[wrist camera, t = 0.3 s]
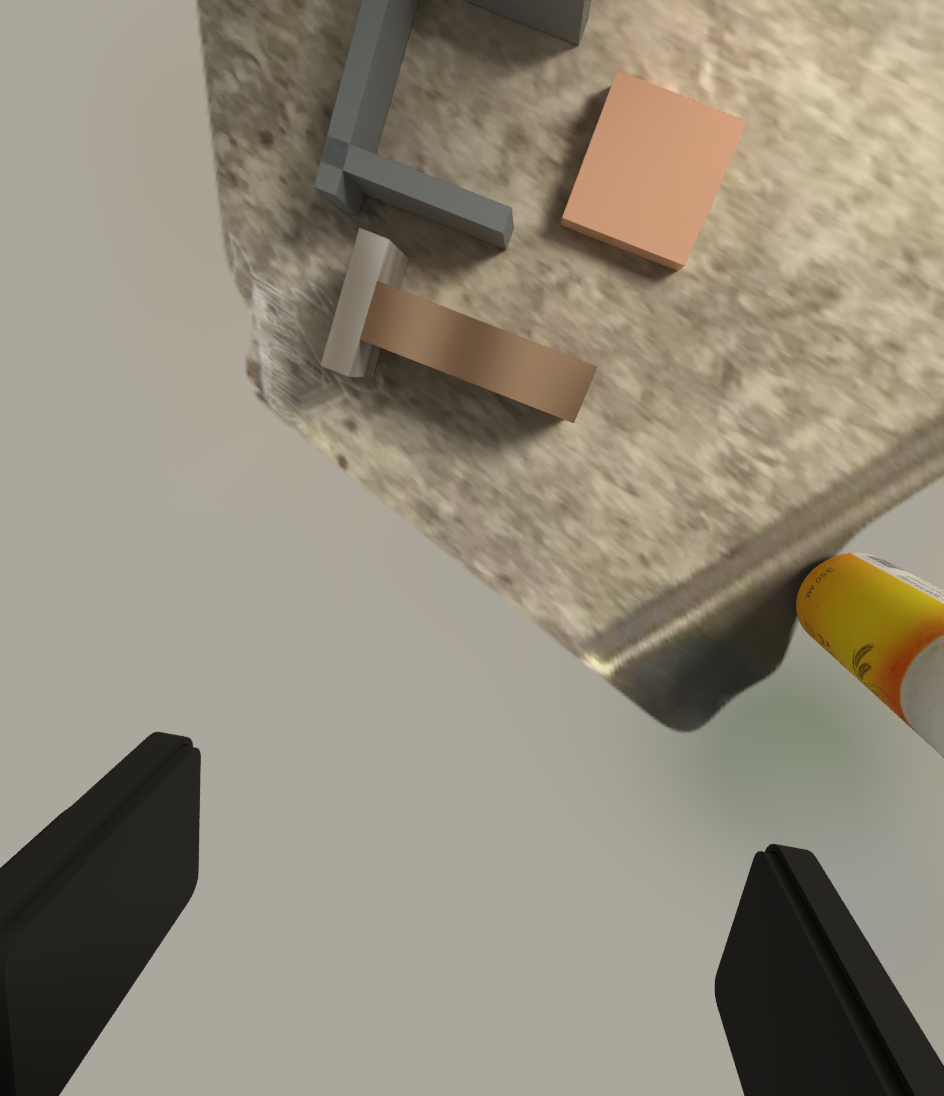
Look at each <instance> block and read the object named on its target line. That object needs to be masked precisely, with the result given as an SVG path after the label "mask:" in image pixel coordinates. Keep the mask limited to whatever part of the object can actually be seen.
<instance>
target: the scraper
mask: <svg viewBox="0 0 944 1096" xmlns="http://www.w3.org/2000/svg"><path fill="white" fill-rule="evenodd" d="M408 262H409V258H408V257H407V256H406V255H405V254H404V253H403V252H402V251H401V250H400V249H399V248H397V247H396V246H395V245H394V244H393V243H392V242H391V241H390V240H389V239H387V238H384V237H382V236H379V235H377V234H374V233H371V232H369V231H366V230H364V229H361V228H359V231H358V234H357V238H356V241H355V245H354V248H353V252H352V255H351V259H350V262H349V266H348V270H347V273H346V277H345V280H344V284H343V287H342V291H341V294H340V298H339V301H338V305H337V309H336V312H335V316H334V319H333V323H332V326H331V330H330V333H329V337H328V340H327V344H326V348H325V351H324V355H323V358H322V362H321V365H320V366H322V367H325V368H328V369H330V370H333V371H335V372H338V373H340V374H343V375H345V376H348V377H373V375H374V371H375V368H376V365H377V362H378V359H379V355H380V352H381V349H382V348H383V349H386V350H388V351H391V352H393V353H396V354H398V355H401V356H403V357H406V358H409V359H411V360H414V361H416V362H419V363H421V364H424V365H426V366H429V367H432V368H434V369H437V370H439V371H442V372H444V373H447V374H449V375H452V376H455V377H457V378H460V379H462V380H465V381H467V382H470V383H472V384H475V385H478V386H480V387H483V388H485V389H488V390H490V391H493V392H495V393H498V394H500V395H503V396H506V397H508V398H511V399H513V400H516V401H518V402H521V403H523V404H526V405H529V406H531V407H534V408H536V409H539V410H541V411H544V412H546V413H549V414H552V415H554V416H557V417H559V418H562V419H564V420H567V421H569V422H572V423H574V422H575V419H576V417H577V414H578V412H579V410H580V407H581V405H582V402H583V400H584V398H585V395H586V393H587V390H588V388H589V386H590V383H591V381H592V379H593V376H594V374H595V371H596V369H597V367H596V366H594V365H591V364H588V363H586V362H583V361H581V360H578V359H576V358H573V357H571V356H568V355H566V354H563V353H560V352H558V351H555V350H553V349H550V348H548V347H545V346H543V345H540V344H537V343H535V342H532V341H530V340H527V339H525V338H522V337H520V336H517V335H515V334H512V333H509V332H507V331H504V330H502V329H499V328H497V327H494V326H492V325H489V324H487V323H484V322H481V321H479V320H476V319H474V318H471V317H469V316H466V315H464V314H461V313H458V312H456V311H453V310H451V309H448V308H446V307H443V306H441V305H438V304H436V303H433V302H430V301H428V300H425V299H423V298H420V297H418V296H415V295H413V294H410V293H407V292H405V291H402V290H400V288H401V284H402V281H403V278H404V275H405V272H406V268H407V265H408Z"/></svg>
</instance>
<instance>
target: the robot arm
mask: <svg viewBox="0 0 944 1096" xmlns="http://www.w3.org/2000/svg"><path fill="white" fill-rule="evenodd" d="M200 766H201V754H200V751H199V749H198V748H194V747H193V743H192V741H191V739H190V738H188V737H184V736H179V735H173V734H168V733H162V732H154V733H152V734H151V735H149V736H148V737H147V738H146V739H145V740H144V741H143V742H141V743H140V744H139V745H138V746H137V747H136V748H135V749H134V750H133V751H132V752H130V753H129V754H128V755H127V756H126V757H125V758H124V759H123V760H122V761H121V762H119V763H118V764H117V765H116V766H115V767H114V768H113V769H112V770H111V771H109V772H108V773H107V774H106V775H105V776H104V777H103V778H102V779H101V780H99V781H98V782H97V783H96V784H95V785H94V786H93V787H92V788H91V789H90V790H89V791H87V793H85V794H84V795H83V796H82V797H81V798H80V799H79V800H77V801H76V802H75V803H74V804H73V805H72V806H71V807H69V808H68V809H67V810H65V811H64V812H62V813H61V814H60V815H59V816H58V817H57V818H55V820H54V821H52V822H51V823H50V824H49V825H48V826H47V827H45V828H44V829H43V830H42V831H41V832H40V833H39V834H38V835H37V836H35V837H34V838H33V839H32V840H31V841H30V842H29V843H28V844H27V845H25V846H24V847H23V848H22V849H21V850H20V851H19V852H18V853H17V854H16V855H14V856H13V857H12V858H11V859H10V860H9V861H8V862H7V863H6V864H4V865H3V866H2V867H1V868H0V1096H59V1095H60V1093H61V1092H62V1090H63V1089H64V1087H65V1086H66V1084H67V1083H68V1081H69V1080H70V1078H71V1077H72V1075H73V1074H74V1072H75V1071H76V1069H77V1068H78V1066H79V1065H80V1063H81V1062H82V1060H83V1059H84V1057H85V1056H86V1054H87V1053H88V1051H89V1050H90V1048H91V1047H92V1045H93V1044H94V1042H95V1041H96V1039H97V1038H98V1036H99V1035H100V1033H101V1032H102V1030H103V1029H104V1027H105V1026H106V1024H107V1023H108V1021H109V1020H110V1018H111V1017H112V1015H113V1014H114V1013H115V1011H116V1010H117V1008H118V1006H119V1005H120V1004H121V1002H122V1001H123V999H124V997H125V996H126V994H127V993H128V992H129V990H130V989H131V987H132V985H133V984H134V982H135V981H136V979H137V978H138V977H139V975H140V974H141V972H142V971H143V969H144V968H145V966H146V965H147V963H148V961H149V960H150V959H151V957H152V956H153V954H154V953H155V951H156V949H157V948H158V947H159V945H160V944H161V942H162V941H163V939H164V938H165V936H166V935H167V933H168V932H169V930H170V929H171V927H172V926H173V924H174V923H175V921H176V920H177V918H178V917H179V915H180V914H181V912H182V911H183V909H184V908H185V906H186V905H187V903H188V902H189V900H190V898H191V897H192V894H193V892H194V890H195V887H196V884H197V880H198V868H199V867H198V866H199V817H200V816H199V815H200V812H199V811H200ZM715 998H716V1003H717V1007H718V1010H719V1013H720V1016H721V1020H722V1023H723V1027H724V1030H725V1033H726V1036H727V1040H728V1043H729V1046H730V1050H731V1053H732V1056H733V1059H734V1062H735V1066H736V1069H737V1073H738V1076H739V1079H740V1082H741V1086H742V1089H743V1092H744V1096H944V1065H943V1064H942V1062H941V1061H940V1059H939V1057H938V1056H937V1054H936V1052H935V1051H934V1050H933V1048H932V1046H931V1044H930V1043H929V1041H928V1039H927V1038H926V1036H925V1035H924V1033H923V1031H922V1030H921V1028H920V1026H919V1025H918V1023H917V1021H916V1020H915V1018H914V1017H913V1015H912V1013H911V1012H910V1010H909V1008H908V1007H907V1005H906V1004H905V1002H904V1000H903V999H902V997H901V995H900V994H899V992H898V990H897V989H896V987H895V986H894V984H893V983H892V981H891V979H890V977H889V976H888V974H887V972H886V971H885V969H884V968H883V966H882V964H881V963H880V961H879V959H878V958H877V956H876V955H875V953H874V951H873V950H872V948H871V946H870V945H869V943H868V941H867V940H866V938H865V937H864V935H863V933H862V932H861V930H860V928H859V927H858V925H857V924H856V922H855V920H854V919H853V917H852V915H851V914H850V912H849V911H848V909H847V907H846V906H845V904H844V902H843V901H842V900H841V897H840V896H839V894H838V893H837V891H836V889H835V888H834V886H833V884H832V883H831V881H830V879H829V878H828V876H827V875H826V873H825V871H824V870H823V868H822V867H821V865H820V863H819V862H818V860H817V858H816V857H815V856H814V854H813V853H812V852H810V851H808V850H805V849H799V848H793V847H788V846H783V845H777V844H770V845H769V846H768V847H767V848H766V851H765V852H762V851H760V852H757V853H756V854H755V857H754V859H753V862H752V866H751V868H750V872H749V875H748V878H747V881H746V884H745V887H744V890H743V893H742V896H741V899H740V902H739V906H738V909H737V912H736V915H735V918H734V921H733V924H732V927H731V931H730V933H729V936H728V939H727V943H726V946H725V949H724V952H723V955H722V958H721V961H720V964H719V967H718V970H717V974H716V978H715Z"/></svg>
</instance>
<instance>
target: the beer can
mask: <svg viewBox="0 0 944 1096" xmlns="http://www.w3.org/2000/svg"><path fill="white" fill-rule="evenodd" d="M796 610H797V615H798V619H799V621H800V623H801V625H802V627H803V628H804V629H805V631H806V632H807V633H808V634H809V635H810V636H811V637H813V639H815V640H816V641H817V642H818V643H819V644H820V645H821V646H822V647H823V648H824V649H826V650H827V651H828V652H829V653H830V654H831V655H832V656H833V657H834V658H835V659H836V660H838V661H839V662H840V663H841V664H842V665H843V666H844V667H845V668H846V669H847V670H849V671H850V672H851V673H852V674H853V675H854V676H855V677H856V678H857V679H858V680H859V681H860V682H862V683H863V684H864V685H865V686H866V687H867V688H868V689H869V690H870V691H872V692H873V693H874V694H875V695H876V696H877V697H878V698H879V699H880V700H881V701H882V702H884V703H885V704H886V705H887V706H888V707H889V708H890V709H891V710H892V711H893V712H894V713H895V714H897V715H898V716H899V717H900V718H901V719H902V720H903V721H904V722H905V723H906V724H908V725H909V726H910V727H911V728H912V729H913V730H914V731H915V732H916V733H917V734H918V735H920V736H921V737H922V738H923V739H924V740H925V741H926V742H927V743H928V744H929V745H930V746H932V747H933V748H934V749H935V750H936V751H937V752H938V753H939V754H940V755H941V756H942V757H943V758H944V591H943V590H942V589H940V588H938V587H936V586H934V585H932V584H930V583H928V582H926V581H924V580H922V579H920V578H917V577H916V576H914V575H912V574H910V573H908V572H906V571H904V570H902V569H900V568H898V567H896V566H894V565H892V564H890V563H888V562H886V561H884V560H882V559H880V558H878V557H876V556H873V555H870V554H864V553H848V554H842V555H838V556H835V557H833V558H830V559H828V560H826V561H824V562H823V563H821V564H820V565H818V566H817V567H816V568H815V569H813V570H812V571H811V572H810V573H809V575H808V576H807V577H806V578H805V580H804V581H803V583H802V585H801V587H800V589H799V592H798V595H797V601H796Z"/></svg>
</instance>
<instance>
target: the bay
mask: <svg viewBox="0 0 944 1096" xmlns="http://www.w3.org/2000/svg"><path fill="white" fill-rule="evenodd" d="M464 1H466V2H469V3H471V4H474V5H476V6H479V7H481V8H484V9H487V10H489V11H492V12H494V13H497V14H499V15H502V16H504V17H507V18H509V19H512V20H514V21H517V22H519V23H522V24H524V25H527V26H530V27H532V28H535V29H537V30H540V31H542V32H545V33H547V34H550V35H552V36H555V37H557V38H560V39H562V40H565V41H568V42H570V43H573V44H575V45H578V46H579V43H580V40H581V37H582V34H583V31H584V29H585V26H586V23H587V20H588V15H589V8H590V1H591V0H464ZM418 2H419V0H362V1H361V5H360V9H359V13H358V17H357V21H356V25H355V29H354V33H353V36H352V40H351V44H350V48H349V52H348V56H347V60H346V64H345V68H344V71H343V75H342V79H341V83H340V87H339V91H338V95H337V99H336V103H335V106H334V110H333V114H332V118H331V122H330V126H329V130H328V134H327V137H326V141H325V145H324V149H323V153H322V157H321V161H320V165H319V169H318V172H317V176H316V180H315V184H314V187H315V188H316V189H317V190H318V191H319V192H320V193H321V194H322V195H324V196H325V197H326V198H327V199H328V200H329V201H330V202H331V203H333V204H334V205H335V206H336V207H337V208H338V209H340V210H343V211H345V212H348V213H350V214H353V215H355V216H359V212H360V208H361V205H362V201H363V198H364V194H365V195H368V196H370V197H373V198H375V199H378V200H380V201H383V202H385V203H388V204H390V205H393V206H396V207H398V208H401V209H403V210H406V211H408V212H411V213H413V214H416V215H418V216H421V217H423V218H426V219H429V220H431V221H434V222H436V223H439V224H441V225H444V226H446V227H449V228H451V229H454V230H457V231H459V232H462V233H464V234H467V235H469V236H472V237H474V238H477V239H479V240H482V241H485V242H487V243H490V244H492V245H495V246H497V247H500V248H502V249H505V250H506V249H507V246H508V243H509V241H510V238H511V235H512V232H513V229H514V224H513V216H512V208H511V207H508V206H506V205H503V204H501V203H498V202H496V201H493V200H491V199H488V198H485V197H483V196H480V195H478V194H475V193H473V192H470V191H468V190H465V189H463V188H460V187H457V186H455V185H452V184H450V183H447V182H445V181H442V180H440V179H437V178H435V177H432V176H430V175H427V174H424V173H422V172H419V171H417V170H414V169H412V168H409V167H407V166H404V165H402V164H399V163H396V162H394V161H391V160H389V159H386V158H384V157H381V156H379V155H376V152H377V148H378V144H379V141H380V137H381V134H382V130H383V127H384V123H385V120H386V116H387V112H388V109H389V105H390V102H391V98H392V95H393V91H394V87H395V84H396V80H397V77H398V73H399V70H400V66H401V63H402V59H403V55H404V52H405V48H406V45H407V41H408V38H409V34H410V31H411V27H412V23H413V20H414V16H415V13H416V9H417V6H418Z"/></svg>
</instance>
